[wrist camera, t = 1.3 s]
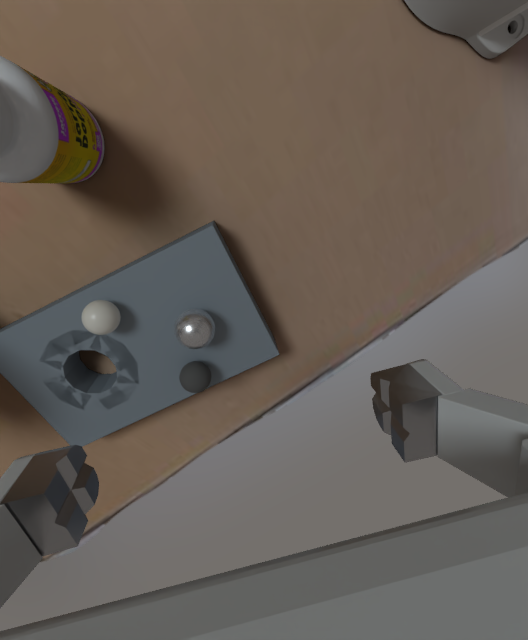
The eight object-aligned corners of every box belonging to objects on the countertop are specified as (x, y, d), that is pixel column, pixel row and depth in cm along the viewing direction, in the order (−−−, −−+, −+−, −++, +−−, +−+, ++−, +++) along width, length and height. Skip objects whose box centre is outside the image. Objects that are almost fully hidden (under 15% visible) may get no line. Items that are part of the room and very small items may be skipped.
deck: (213, 220, 31) (212, 225, 28) (274, 339, 37) (279, 354, 33) (-1, 329, 33) (-26, 345, 30) (87, 426, 38) (74, 449, 35)
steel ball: (204, 296, 30) (201, 310, 27) (222, 328, 32) (222, 345, 28) (169, 313, 30) (162, 329, 27) (189, 344, 32) (185, 363, 28)
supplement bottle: (123, 160, 28) (51, 144, 17) (58, 197, 29) (-55, 207, 17) (71, 75, 26) (-58, -15, 14) (1, 117, 26) (-179, 65, 15)
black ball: (202, 350, 32) (200, 366, 29) (217, 373, 33) (216, 391, 31) (175, 363, 32) (171, 380, 30) (191, 386, 34) (188, 404, 31)
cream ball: (111, 289, 29) (99, 300, 26) (131, 317, 30) (122, 331, 27) (82, 304, 29) (67, 317, 26) (102, 331, 30) (90, 346, 28)
